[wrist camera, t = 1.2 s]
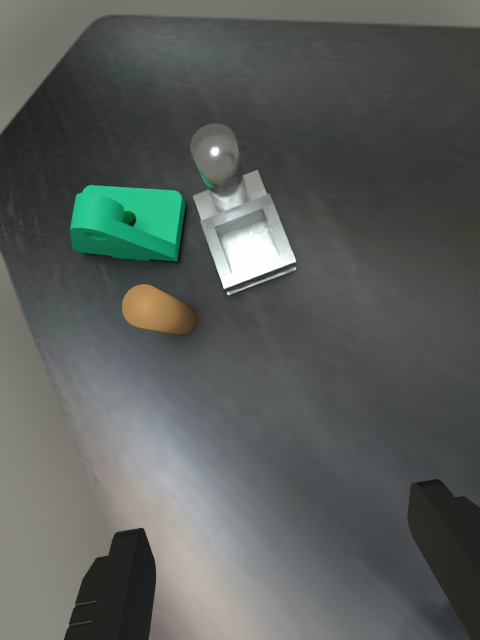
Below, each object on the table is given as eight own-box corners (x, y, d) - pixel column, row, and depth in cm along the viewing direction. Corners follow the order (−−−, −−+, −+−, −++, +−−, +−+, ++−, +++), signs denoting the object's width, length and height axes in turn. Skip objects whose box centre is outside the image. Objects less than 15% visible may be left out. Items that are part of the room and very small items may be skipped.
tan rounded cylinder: (180, 297, 39) (141, 275, 28) (203, 317, 39) (172, 302, 28) (160, 321, 39) (113, 308, 28) (183, 341, 39) (144, 336, 28)
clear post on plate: (296, 270, 38) (301, 238, 27) (229, 295, 38) (209, 274, 28) (257, 172, 40) (249, 107, 29) (194, 198, 40) (163, 143, 30)
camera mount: (189, 201, 40) (158, 150, 30) (180, 264, 40) (145, 233, 30) (95, 195, 42) (36, 144, 32) (85, 255, 41) (21, 222, 31)
